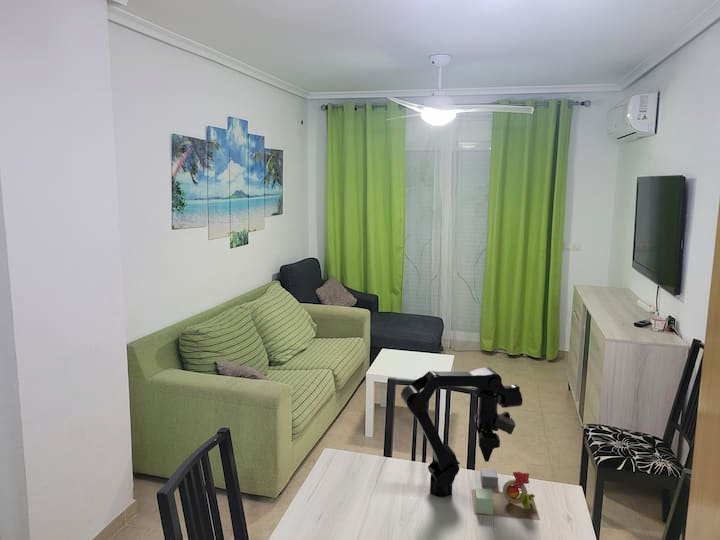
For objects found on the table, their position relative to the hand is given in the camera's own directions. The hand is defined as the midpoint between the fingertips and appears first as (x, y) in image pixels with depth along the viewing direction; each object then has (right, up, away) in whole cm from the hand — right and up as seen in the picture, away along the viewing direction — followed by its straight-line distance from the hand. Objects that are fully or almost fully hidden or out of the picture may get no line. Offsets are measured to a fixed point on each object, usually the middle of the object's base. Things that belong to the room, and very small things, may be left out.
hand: (485, 453), depth 175 cm
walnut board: (+4, -14, -7) cm, 16 cm away
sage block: (-3, -13, -10) cm, 17 cm away
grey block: (+2, -12, +5) cm, 14 cm away
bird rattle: (+8, -13, -7) cm, 17 cm away
